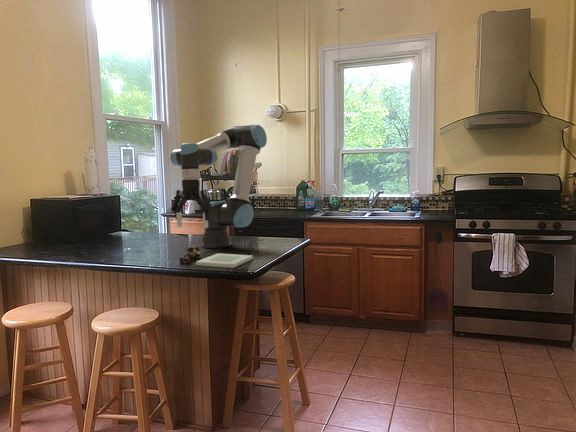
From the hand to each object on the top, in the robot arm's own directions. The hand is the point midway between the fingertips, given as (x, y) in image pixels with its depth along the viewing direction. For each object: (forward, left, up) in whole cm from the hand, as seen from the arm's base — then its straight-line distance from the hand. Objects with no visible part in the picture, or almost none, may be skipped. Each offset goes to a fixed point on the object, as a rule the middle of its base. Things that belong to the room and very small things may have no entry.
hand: (192, 227), depth 200 cm
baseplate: (-1, +15, -15) cm, 21 cm away
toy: (0, -1, -15) cm, 15 cm away
